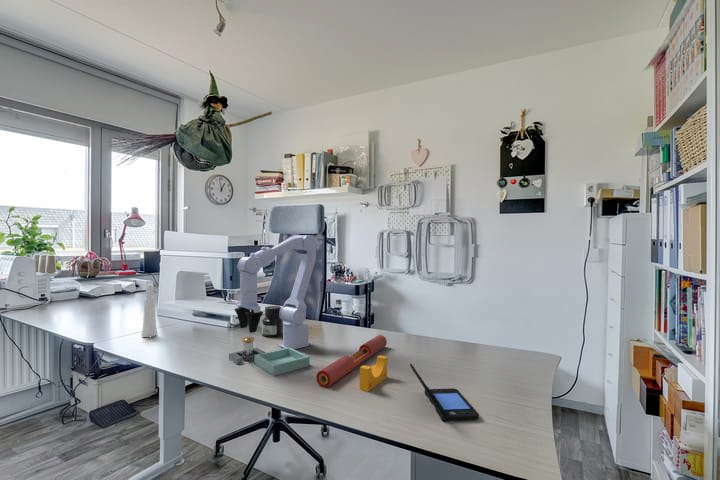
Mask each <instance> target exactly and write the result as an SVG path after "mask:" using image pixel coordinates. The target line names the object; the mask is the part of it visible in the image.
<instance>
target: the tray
mask: <svg viewBox="0 0 720 480" xmlns="http://www.w3.org/2000/svg"><path fill="white" fill-rule="evenodd" d="M265 352H266V351H265ZM310 359H311V357H310V356H309V355H307V354H305V353H303V352H301V351H298V350H297V349H292V348H290V347H288V348H280V349H276V350H272V351H268V352H266V353H262V354H258V355H255V359H254V365H256V366H257V367H258V368H259V369H261V370H263V371H265V372H266V373H268V374H269V375H271V376H272V377H273V376H274V377H275V376H279V375H282V374H285V373H289V372H291V371H296V370H300V369H302V368H303V369H304V368H307V367H310V366H311V364H310V363H311V361H310Z"/></svg>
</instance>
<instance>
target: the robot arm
mask: <svg viewBox="0 0 720 480" xmlns="http://www.w3.org/2000/svg"><path fill="white" fill-rule="evenodd" d="M318 244H319V243H318V241H317V239H316V237H315V236H314V235H311V234H308V235H307V234H305V235H299V234H294V235H293V236H289V237H288V238H286V239H285V240H284V241H282V242H280V243H278V244H277V245H274V246H273V247H269V246H262V247H261V248H260V250H258V251H256V252H251V253H250V254H249V256H243V257H241V258H240V259H239V260H238V261H237V263H238V264H236V269H237V270H238V272H239V300H237V304H236V307H235V308H234V312H235V314H236V316H237V319H238V323H239V326H240V329H245V328H248V331H249V333H256V332H257V330H258V327H259V322H260V320H261V318H262V316H263V313H264V311H262V310H261V306H260V305H259V303H258V273H259V272H260V270H261V269H262V268H263V267H265V266H267V265H268V264H271V263H272V262H274V261H275V260H276V257H277V256H280V255H281V254H283V253H286V252H287V251H290V250H293V251H294V252H295V253H296V254H297V255H298V257H299V258H300V264H299V267H298V270H297V274H296V276H295V281H294V284H293V287H292V290H291V293H290V296H289V298H288V299H286V300H285V301H284V303H283V306H282V307H281V310H280V318H281V319H282V320H283V334H282V337H283V338H282V343H279V344H278V347H281V348H282V349H284V348H288V347H290V348H292V349H294V350H297V349H301V348H305V347H308V346H311V345H310V343H309V338H310V337H309V336H310V335H309V333H310V332H309V331H310V330H309V326H308V323H307V322H305V320H306V318H307V308H308V307H307V304H306V303H305V298H306V294H307V291H308V287H309V283H310V280H311V277H312V274H313V271H314V267H315V263H316V259H317V252H316V251H317V247H318Z"/></svg>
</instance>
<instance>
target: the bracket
mask: <svg viewBox="0 0 720 480" xmlns="http://www.w3.org/2000/svg"><path fill="white" fill-rule="evenodd" d="M253 353H254V354H255V355H258V354H262V353H266V351H264V350H262V349H261V348H258V347H253ZM242 354H243V350H239V351H235V352H231V353H228V360H230V361H232V362H233V364H235V365H240V364H243V363H244V361H243V358H242V357H241V355H242Z"/></svg>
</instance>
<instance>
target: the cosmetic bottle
mask: <svg viewBox="0 0 720 480" xmlns="http://www.w3.org/2000/svg"><path fill="white" fill-rule="evenodd" d="M154 289H155V288H154V286H153V283H152V284H151V283H149V284H146V287H145V298H144V303H143V305H144V306H143V318H142V319H143V320H142V321H143V323H142V329H141V335H140V336H142V337H141V338H143V337H149V338H151V337H150V336H154V337H156V336H155V335H157V334H158V329H157V318H156V299H155V296H154V291H155V290H154ZM157 336H158V335H157Z"/></svg>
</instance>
